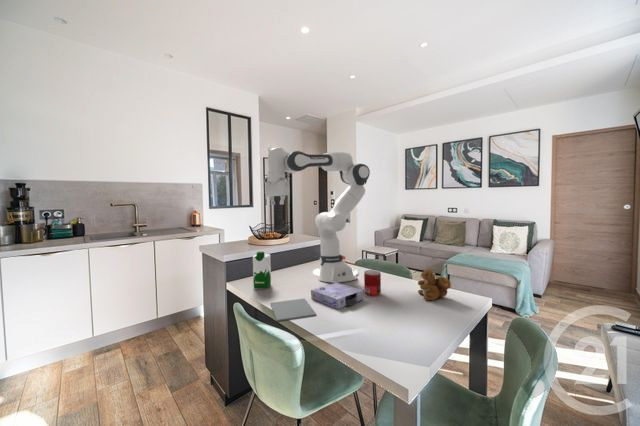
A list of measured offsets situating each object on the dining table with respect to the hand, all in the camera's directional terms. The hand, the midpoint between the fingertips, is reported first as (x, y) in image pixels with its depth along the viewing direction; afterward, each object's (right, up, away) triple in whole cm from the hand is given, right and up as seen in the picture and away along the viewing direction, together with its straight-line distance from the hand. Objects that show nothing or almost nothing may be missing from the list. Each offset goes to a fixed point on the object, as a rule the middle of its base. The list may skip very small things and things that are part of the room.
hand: (277, 204), depth 142 cm
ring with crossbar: (+32, -46, +26) cm, 62 cm away
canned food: (+49, -45, -9) cm, 67 cm away
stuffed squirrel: (+77, -45, -15) cm, 90 cm away
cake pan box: (+24, -43, -23) cm, 55 cm away
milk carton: (-8, -45, +2) cm, 46 cm away
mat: (+11, -46, -28) cm, 55 cm away
